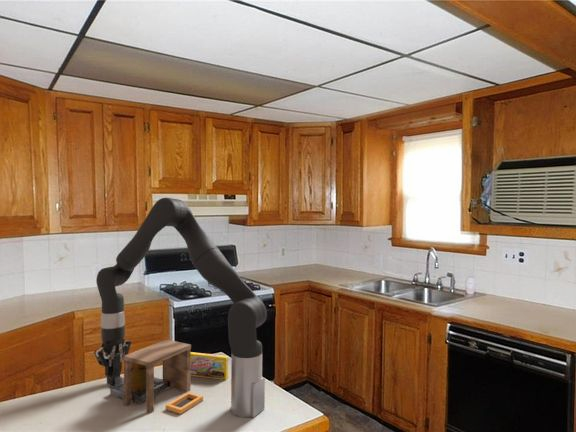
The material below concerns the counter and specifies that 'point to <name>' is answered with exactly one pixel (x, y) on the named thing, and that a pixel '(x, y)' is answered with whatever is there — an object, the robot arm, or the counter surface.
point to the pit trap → (184, 403)
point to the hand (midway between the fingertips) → (113, 374)
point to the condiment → (138, 378)
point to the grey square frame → (119, 383)
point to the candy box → (209, 366)
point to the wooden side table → (173, 368)
